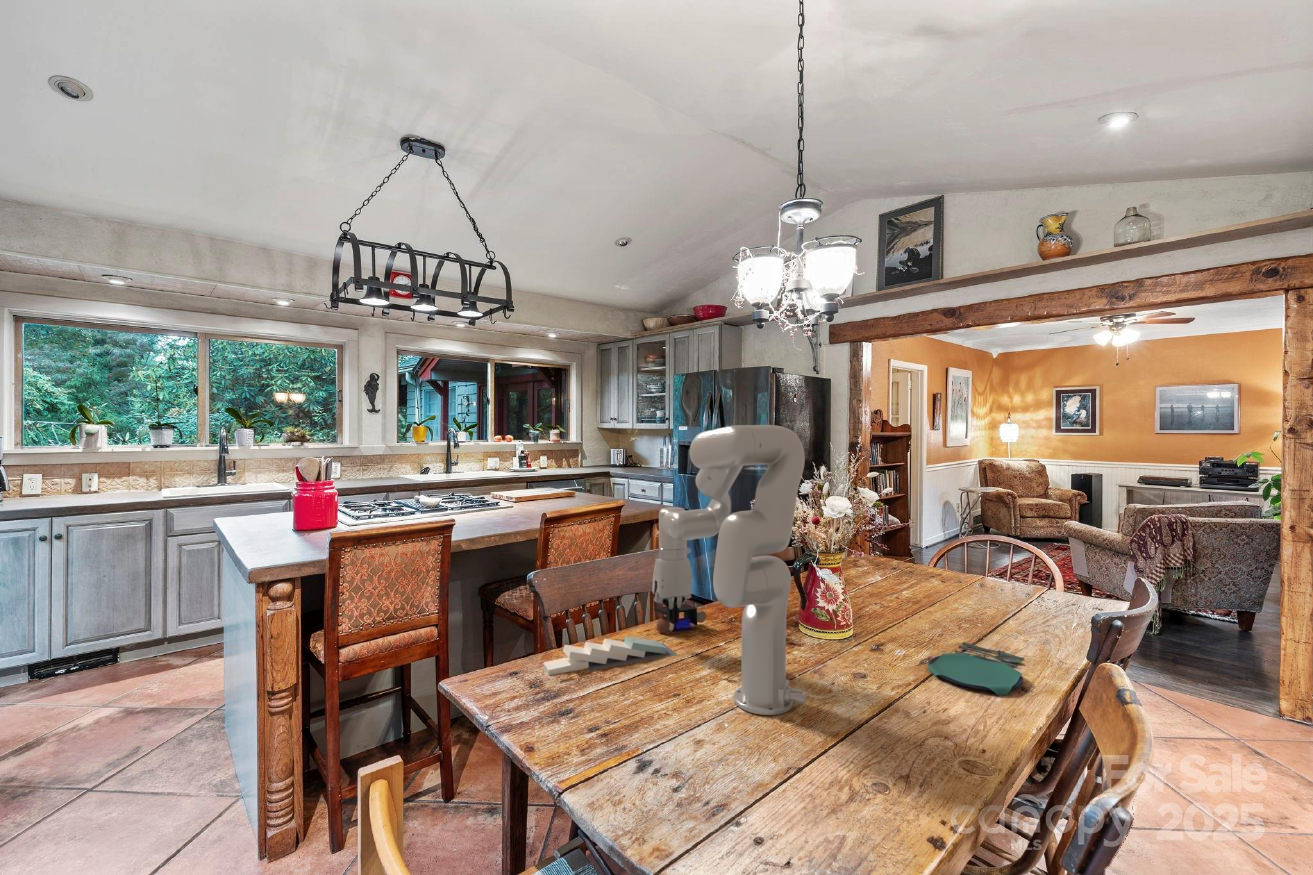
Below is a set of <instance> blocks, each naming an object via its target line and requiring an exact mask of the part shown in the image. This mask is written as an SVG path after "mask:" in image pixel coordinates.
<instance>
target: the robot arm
mask: <svg viewBox="0 0 1313 875" xmlns="http://www.w3.org/2000/svg"><path fill="white" fill-rule="evenodd" d="M689 458H690V461H691V463H692V464H693V466H694V467H696V468H697V469H699V470H698V473H697V474H696V476H695V485H696V487H697V489H698V491H700V493H702V494H703V495H704V496H705V497H707V498H709V499H711V500H710V502H709V504H708V505H707V506H706V508H699V509H697V508H696V509H687V510H686V509H685V508H683V507H677V506H668V507H663V508H660V509H659V511H658V558H655V562H654V567H653V575H652V594H653V595H654V598H653V600H654V602H655V603H657V604H663V606H664V607H667V615H666V617H667V620H668V621H669V622H670V623H672V624H675V623H678V619H679V618H680V613H679V608H680V607H681V604H684V602H685V601H686V600H689V599H691V598H692V591H693V576H692V569H691V568H692V567H691V562H690V558H688V554H691V552H692V549H691V548H690V547H688V541H693V540H696V539H697V540H699V539H706V538H711V537H712V538H713V537H714V536H716V535H717V534H718V537H717V541H716V542H717V543H716V550H715V559H714V566H713V577H712V584H713V585H712V586H713V591H714V595H715V598H716V600H718V602H719V603H720V604H721V605H722V606H724V607H726V608H730V609H731V608H732V609H735V608H736V609H737V608H743V607H744V608H743V611H742V617H741V630H740V631H741V633H740V634H741V635H740V636H741V637H740V638H741V640H740V641H741V644H740V645H741V647H740V648H741V650H740V652H741V654H740V655H741V656H740V657H741V658H740V660H741V661H740V662H741V667H740V669H741V670H740V671H741V675H740V676H741V679H740V680H741V681H740V682H741V683H740V684H741V686H740V687H739V688H737V689H736V690H735V692H734V693H733V694H734V696H733V700H734V703H735V704H736V705H737V706H738V708H740V709H742V710H744V711H745V712H749V713H751V714H756V715H761V716H777V715H781V714H784V713H787V712H788V711H791V709H793V706H794V703H796V704H800V705H801V704H802V705H806V703H807V694H805V693H803V689H800V688H799V689H798V688H793V687H792V686H790V680H789V679H787V614H788V613H787V612H788V610H787V609H788V602H789V598H790V592H791V587H792V575H791V571H790V569H789V567H788V565H787V563H786V562H785V561H784V560H782V559H781V558H779V557H777V556H774V555H772V554H777V553H781V552H783V551H784V550H785V549H787V548H788V546H789V544H790V541H791V537H792V530H793V524H794V518H795V511H796V505H797V496H798V491H799V488H800V487H799V486H800V484H801V480H802V477H803V473H804V469H805V460H806V455H805V449H804V446H803V443H802V441H801V439H800V438H799V436H798V435H797V434H796V433H795V431H793V430H792V429H790V428H788V427H785V426H780V425H773V424H753V425H752V424H735V425H728V426H723V427H719V428H715V429H714V428H713V429H710V430H705V431H701V432H699V433H698V434H697V435H695V437H694V438H693V439H692V441H691V443H690V447H689ZM759 465H762V466H763V465H767V468H766V470H765V472H764V473H763V475H762V476H761V477H760V479H759V481H758V483H757V485H756V486H757V487H756V490H755V496H754V503H753V506H752V508H751V509H750V510H739V511H736V512H732V513H731V506H732V505H731V504H732V503H731V497H730V494H729V491H730V489H731V488H732V486H733V485H734V483H735V481H736V479H737V477H738V475H739V474H740V472H741V470H742V469H743V467H745V466H759Z"/></svg>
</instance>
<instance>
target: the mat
mask: <svg viewBox="0 0 1313 875" xmlns="http://www.w3.org/2000/svg"><path fill="white" fill-rule="evenodd" d="M661 644H663V645H664V646H665V647H666V648H667V649H666V653H665V654H662V653H655V652H649V651H646V652H645V655H644V658H643V657H638V656H632V655H627V658H626V661H623V660H617V659H612V658H607V662H606V664H601V663H595V662H589V661H588V665H589V668H587V670H588V671H589V672H594V671H599V670H605V669H609V668H615V667H620V666H626V665H631V664H632V665H633V664H636V663H643V662H647V661H653V660H660V659H663V658H669V657H675V656H678V654H677V652H675V651H674V650H672V649H671V648H670V647H668V646H667V645H666V643H662V642H661Z"/></svg>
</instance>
